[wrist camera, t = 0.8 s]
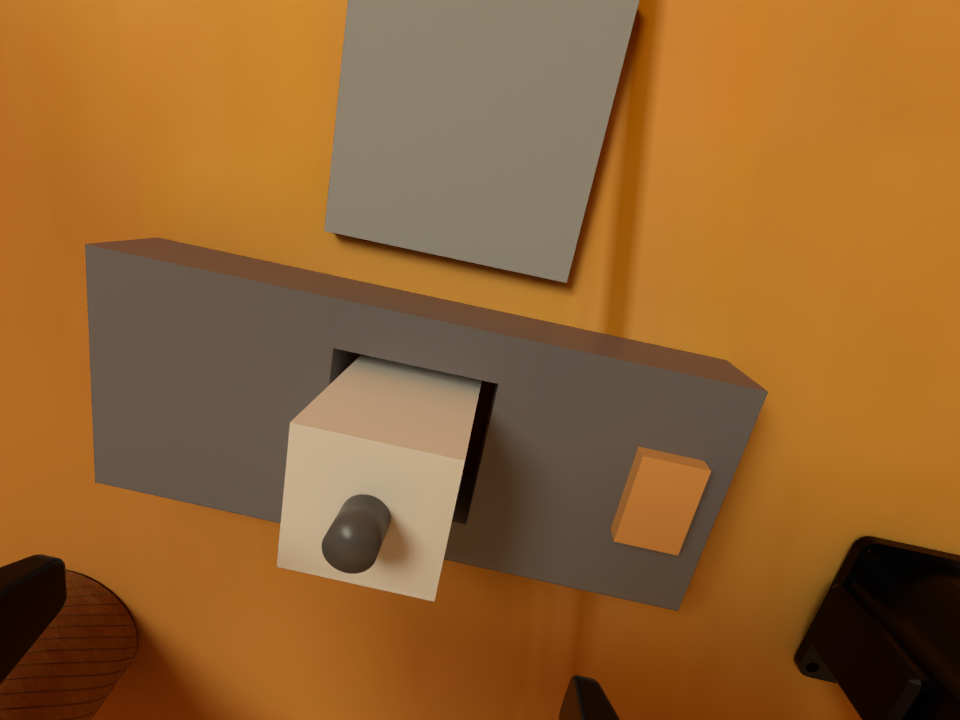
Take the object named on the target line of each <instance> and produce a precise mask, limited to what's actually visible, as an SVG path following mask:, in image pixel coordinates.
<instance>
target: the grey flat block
mask: <svg viewBox="0 0 960 720" xmlns="http://www.w3.org/2000/svg"><path fill="white" fill-rule="evenodd" d="M85 252H86V276H87V299H88V322H89V346H90V369H91V392H92V416H93V439H94V463H95V482H97V483H101V484H106V485H110V486H115V487H119V488H124V489H128V490H133V491H137V492H142V493H146V494H151V495H155V496H160V497H164V498H169V499H173V500H178V501H183V502H187V503H192V504H196V505H201V506H205V507H210V508H214V509H219V510H223V511H228V512H232V513H237V514H241V515H246V516H250V517H255V518H259V519H264V520H269V521H273V522H278V523H281V514H282V503H283V492H284V482H285V471H286V460H287V449H288V438H289V427H290V422H291V421H292V420H293V419H294V418H295V417H296V416H297V415H298V414H299V413H300V412H301V411H303V410H304V409H305V408H306V407H307V406H308V405H309V404H310V403H311V402H312V401H313V400H314V399H315V398H316V397H317V396H318V395H319V394H320V393H321V392H323V391H324V390H325V389H326V388H327V387H328V386H329V385H330V384H331V383H332V382H333V381H334V380H335V379H336V378H337V377H338V376H339V375H340V374H341V373H342V372H344V371H345V370H346V369H347V368H348V367H349V366H350V365H351V364H352V363H353V362H354V361H355V360H356V359H357V358H358V357H359V354H362V355H367V356H372V357H376V358H381V359H385V360H390V361H395V362H399V363H404V364H408V365H413V366H418V367H422V368H427V369H431V370H436V371H441V372H445V373H450V374H454V375H459V376H464V377H468V378H473V379H477V380H482V381H487V382H491V383H495V388H494V392H493V397H492V401H491V405H490V410H489V414H488V419H487V423H486V427H485V432H484V436H483V441H482V445H481V449H480V454H479V458H478V463H477V467H476V471H475V476H474V477H471V476H467V475H462V477H461V482H460V486H459V491H458V495H457V500H456V505H455V509H454V514H453V518H452V523H451V527H450V532H449V537H448V541H447V546H446V550H445V555H444V559H445V560H450V561H454V562H459V563H463V564H468V565H472V566H477V567H481V568H486V569H490V570H495V571H499V572H504V573H508V574H513V575H517V576H522V577H526V578H531V579H536V580H540V581H545V582H549V583H554V584H558V585H563V586H567V587H572V588H576V589H581V590H585V591H590V592H594V593H599V594H603V595H608V596H612V597H617V598H621V599H626V600H631V601H635V602H640V603H644V604H649V605H653V606H658V607H662V608H667V609H671V610H676V611H678V610H679V607H680V605H681V602H682V600H683V598H684V595H685V593H686V590H687V588H688V585H689V583H690V581H691V578H692V576H693V573H694V571H695V568H696V566H697V564H698V561H699V559H700V556H701V554H702V551H703V549H704V546H705V544H706V542H707V539H708V537H709V534H710V532H711V529H712V527H713V525H714V522H715V520H716V517H717V515H718V512H719V510H720V508H721V505H722V503H723V500H724V498H725V495H726V493H727V491H728V488H729V486H730V483H731V481H732V478H733V476H734V473H735V471H736V469H737V466H738V464H739V461H740V459H741V456H742V454H743V452H744V449H745V447H746V444H747V442H748V439H749V437H750V435H751V432H752V430H753V427H754V425H755V422H756V420H757V418H758V415H759V413H760V410H761V408H762V405H763V403H764V400H765V398H766V396H767V393H768V391H766V390H765V389H764V388H762V387H761V386H760V385H758V384H757V383H756V382H754V381H753V380H752V379H750V378H749V377H748V376H746V375H745V374H744V373H742V372H741V371H740V370H738V369H737V368H736V367H734V366H733V365H732V364H730V363H729V362H728V361H726V360H722V359H718V358H713V357H708V356H704V355H699V354H694V353H690V352H685V351H681V350H676V349H671V348H667V347H662V346H657V345H653V344H648V343H643V342H639V341H634V340H630V339H625V338H620V337H616V336H611V335H606V334H602V333H597V332H592V331H588V330H583V329H578V328H574V327H569V326H565V325H560V324H555V323H551V322H546V321H541V320H537V319H532V318H527V317H523V316H518V315H514V314H509V313H504V312H500V311H495V310H490V309H486V308H481V307H476V306H472V305H467V304H462V303H458V302H453V301H449V300H444V299H439V298H435V297H430V296H425V295H421V294H416V293H411V292H407V291H402V290H398V289H393V288H388V287H384V286H379V285H374V284H370V283H365V282H360V281H356V280H351V279H346V278H342V277H337V276H333V275H328V274H323V273H319V272H314V271H309V270H305V269H300V268H295V267H291V266H286V265H282V264H277V263H272V262H268V261H263V260H258V259H254V258H249V257H244V256H240V255H235V254H230V253H226V252H221V251H217V250H212V249H207V248H203V247H198V246H193V245H189V244H184V243H179V242H175V241H170V240H166V239H161V238H148V239H137V240H126V241H115V242H104V243H93V244H85Z"/></svg>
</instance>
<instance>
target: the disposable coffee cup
mask: <svg viewBox="0 0 960 720" xmlns="http://www.w3.org/2000/svg"><path fill="white" fill-rule="evenodd" d="M65 571H66V570H65ZM66 585H67V598H66V602H65V604H64V606H63V608H62V609H61V611H60V612H59V614H58V615H57V616H56V617H55V619H54V620H53V621H52V622H51V623H50V625H49V626H48V627H47V628H46V630H45V631H44V632H43V633H42V635H41V636H40V637H39V638H38V639H37V641H36V642H35V643H34V644H33V646H32V647H31V648H30V649H29V651H28V652H27V653H26V654H25V655H24V657H23V658H22V659H21V660H20V662H19V663H18V664H17V665H16V667H15V668H14V669H13V670H12V671H11V673H10V674H9V675H8V676H7V678H6V679H5V680H4V681H3V683H2V684H1V685H0V720H92V718H93V717H94V715H95V714H96V712H97V710H98V709H99V707H100V706H101V705H102V704H103V702H104V700H105V699H106V697H107V696H108V694H109V693H110V691H111V690H112V689H113V687H114V686H115V684H116V683H117V681H118V680H119V678H120V677H121V675H122V674H123V672H124V671H125V669H126V668H127V666H128V665H129V664H130V663H131V661H132V660H133V658H134V655H135V653H136V649H137V634H136V629H135V626H134V623H133V620H132V619H131V617H130V615H129V614H128V612H127V610H126V609H125V607H124V606H123V605H122V604H121V603H120V601H119V600H118V599H117V598H116V597H115V596H114V595H113V594H112V593H111V592H109V591H108V590H107V589H105V588H104V587H103V586H101V585H100V584H98V583H97V582H95V581H93V580H91V579H89V578H87V577H85V576H83V575H80V574H77V573H74V572H71V571H66Z"/></svg>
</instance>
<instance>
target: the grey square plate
mask: <svg viewBox="0 0 960 720" xmlns="http://www.w3.org/2000/svg"><path fill="white" fill-rule="evenodd" d="M638 4H639V0H348V6H347V16H346V25H345V35H344V45H343V55H342V64H341V74H340V84H339V94H338V103H337V113H336V123H335V133H334V143H333V152H332V162H331V172H330V182H329V191H328V201H327V211H326V221H325V230H324V231H327V232H331V233H336V234H341V235H345V236H350V237H355V238H359V239H364V240H369V241H373V242H378V243H383V244H387V245H392V246H397V247H401V248H406V249H411V250H415V251H420V252H425V253H429V254H434V255H439V256H443V257H448V258H453V259H457V260H462V261H467V262H471V263H476V264H481V265H485V266H490V267H495V268H499V269H504V270H509V271H513V272H518V273H523V274H527V275H532V276H537V277H541V278H546V279H550V280H555V281H560V282H564V283H567V280H568V276H569V272H570V268H571V264H572V260H573V257H574V253H575V249H576V245H577V241H578V237H579V233H580V229H581V225H582V222H583V218H584V214H585V210H586V206H587V202H588V198H589V194H590V190H591V186H592V183H593V179H594V175H595V171H596V167H597V163H598V159H599V155H600V151H601V148H602V144H603V140H604V136H605V132H606V128H607V124H608V120H609V116H610V113H611V109H612V105H613V101H614V97H615V93H616V89H617V85H618V81H619V78H620V74H621V70H622V66H623V62H624V58H625V54H626V50H627V46H628V43H629V39H630V35H631V31H632V27H633V23H634V19H635V15H636V11H637V8H638Z"/></svg>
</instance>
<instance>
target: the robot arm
mask: <svg viewBox="0 0 960 720" xmlns="http://www.w3.org/2000/svg"><path fill="white" fill-rule="evenodd" d="M872 549H873V550H872ZM869 550H872V551H871V552H869V553H867V552H868V551H869ZM66 598H67V585H66V571H65V563H64V562H63V561H62V560H61V559H59V558H55V557H51V556H46V555H33V556H30V557H27V558H25V559H22V560H19V561H16V562H14V563H11V564H8V565H6V566H3V567H0V685H1V684H2V683H3V681H4V680H5V679H6V678H7V676H8V675H9V674H10V673H11V671H12V670H13V669H14V668H15V667H16V665H17V664H18V663H19V662H20V660H21V659H22V658H23V657H24V655H25V654H26V653H27V652H28V651H29V649H30V648H31V647H32V646H33V644H34V643H35V642H36V641H37V639H38V638H39V637H40V636H41V635H42V633H43V632H44V631H45V630H46V628H47V627H48V626H49V625H50V623H51V622H52V621H53V620H54V619H55V617H56V616H57V615H58V614H59V612H60V611H61V609H62V608H63V606H64V604H65V602H66ZM794 661H795V664H796V666H797V667H798V669H799V671H800V672H801V673H802V674H803V675H805V676H807V677H811V678H816V679H820V680H825V681H829V682H834V683H838V684H839V686H840V687H841V689H842V690H843V692H844V693H845V695H846V696H847V698H848V699H849V701H850V702H851V704H852V705H853V707H854V708H855V710H856V711H857V713H858V714H859V716H860V717H861V719H862V720H960V556H959V555H954V554H950V553H945V552H940V551H936V550H931V549H927V548H922V547H918V546H913V545H908V544H904V543H899V542H895V541H890V540H886V539H881V538H876V537H871V536H866V537H862V538H860V539H858V540H857V541H856V542H855V543H854V544H853V546H852V548H851V550H850V552H849V553H848V555H847V557H846V559H845V561H844V563H843V565H842V567H841V569H840V571H839V573H838V575H837V576H836V578H835V580H834V582H833V584H832V586H831V588H830V590H829V592H828V594H827V596H826V598H825V599H824V601H823V603H822V605H821V607H820V609H819V611H818V613H817V615H816V617H815V619H814V621H813V622H812V624H811V626H810V628H809V630H808V632H807V634H806V636H805V638H804V640H803V642H802V644H801V645H800V647H799V649H798V651H797V653H796V655H795V658H794ZM559 720H620V719H619V717H618V715H617V714H616V712H615V710H614V708H613V707H612V705H611V703H610V702H609V700H608V698H607V696H606V695H605V693H604V691H603V689H602V688H601V686H600V684H599V683H598V682H597V681H596V680H595V679H592V678H587V677H583V676H578V675H574V676H573V677H572V678H571V680H570V682H569V685H568V688H567V691H566V694H565V697H564V700H563V703H562V706H561V709H560V714H559Z"/></svg>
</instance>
